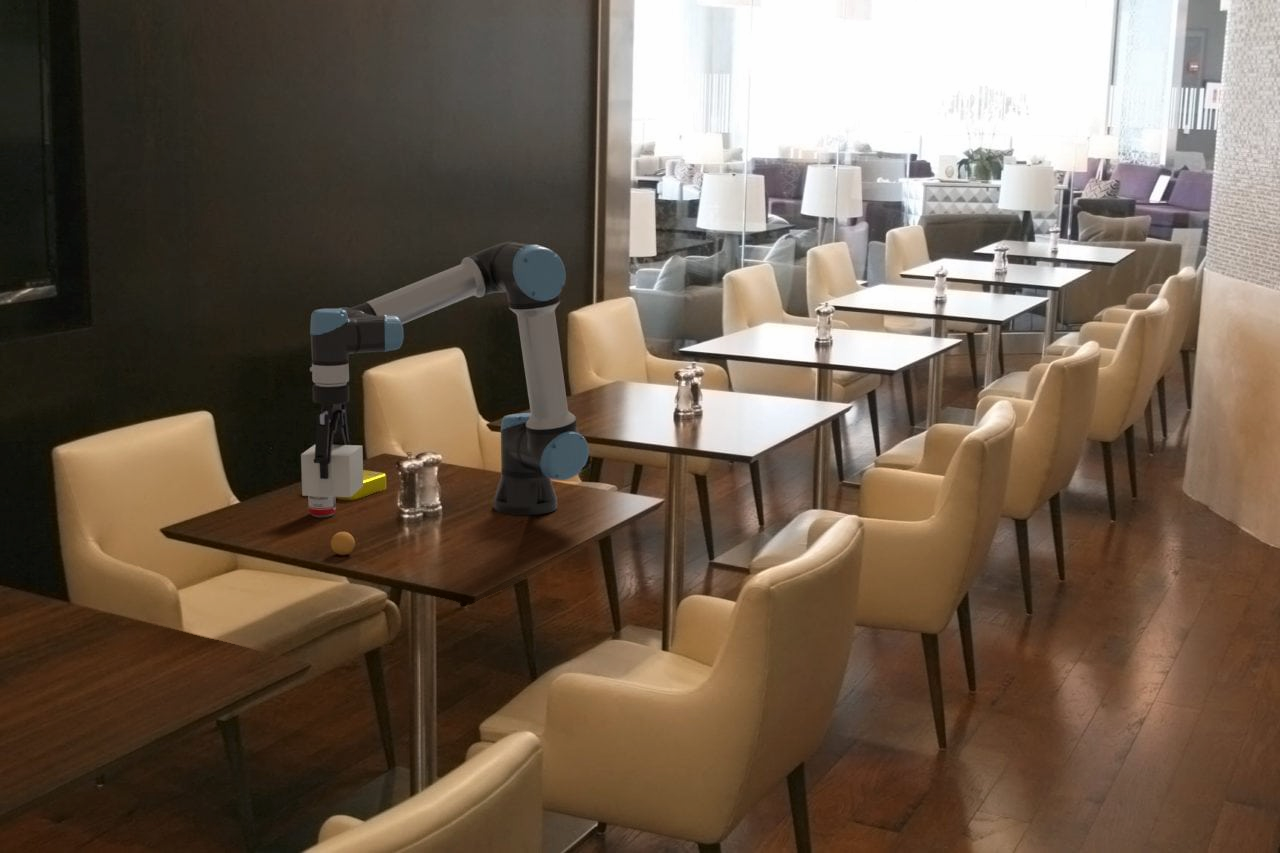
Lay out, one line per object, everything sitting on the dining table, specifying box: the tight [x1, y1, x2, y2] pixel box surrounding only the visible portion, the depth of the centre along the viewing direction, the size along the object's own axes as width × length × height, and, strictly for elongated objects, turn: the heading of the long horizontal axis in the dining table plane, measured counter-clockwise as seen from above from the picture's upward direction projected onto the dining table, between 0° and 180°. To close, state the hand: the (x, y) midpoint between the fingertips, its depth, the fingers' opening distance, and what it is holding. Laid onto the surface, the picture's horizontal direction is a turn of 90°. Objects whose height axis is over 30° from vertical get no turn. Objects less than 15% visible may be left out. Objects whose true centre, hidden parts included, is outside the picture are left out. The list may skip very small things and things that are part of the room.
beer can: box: [307, 446, 337, 518], centre depth 349 cm, size 6×6×16 cm
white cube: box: [300, 443, 364, 497], centre depth 316 cm, size 10×10×9 cm
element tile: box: [336, 469, 387, 501], centre depth 373 cm, size 15×15×5 cm
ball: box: [330, 531, 356, 556], centre depth 318 cm, size 5×5×5 cm
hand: (333, 486), depth 316 cm, fingers closed on white cube, 10 cm apart
